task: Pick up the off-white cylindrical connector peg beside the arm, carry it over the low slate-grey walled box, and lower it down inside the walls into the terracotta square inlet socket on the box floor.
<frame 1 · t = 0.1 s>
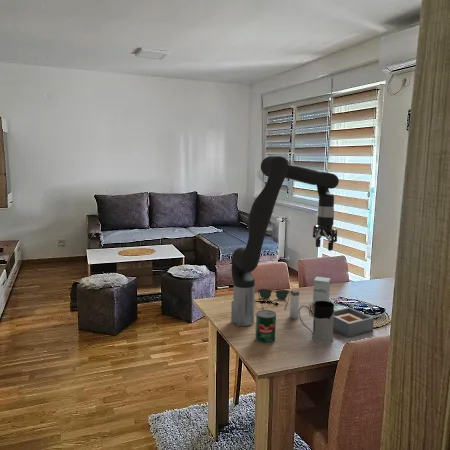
hand: (324, 248, 196), 29 cm above the table, tool pointing down, fingers open, 8 cm apart
sunglasses: (273, 304, 203), on the table
mug: (315, 339, 163), on the table
supplement box: (320, 303, 205), on the table
connector peg: (293, 317, 186), on the table
walled box: (348, 328, 174), on the table
canned tomato: (265, 340, 162), on the table
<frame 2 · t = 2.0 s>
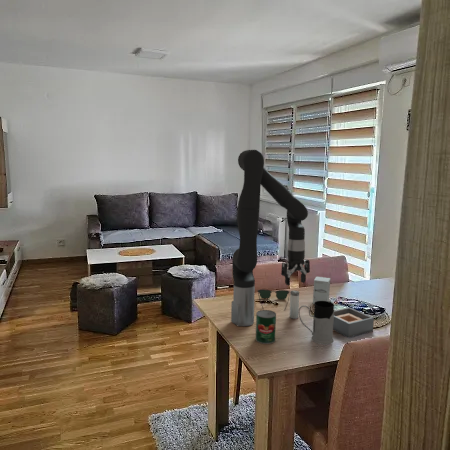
hand: (295, 283, 183), 16 cm above the table, tool pointing down, fingers open, 8 cm apart
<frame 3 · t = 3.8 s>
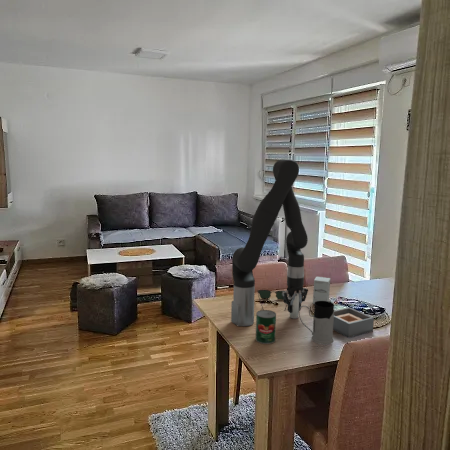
hand: (294, 311, 186), 3 cm above the table, tool pointing down, fingers closed on connector peg, 4 cm apart
connector peg: (293, 317, 186), on the table, touching gripper
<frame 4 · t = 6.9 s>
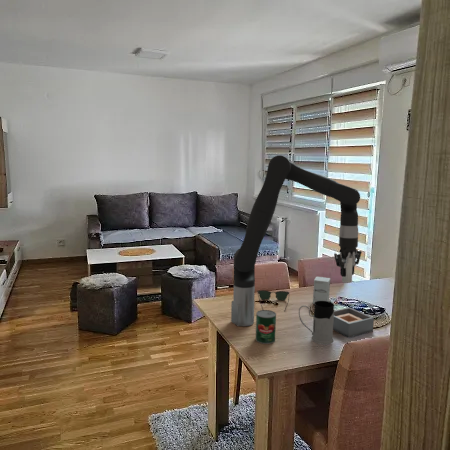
hand: (347, 275, 171), 23 cm above the table, tool pointing down, fingers closed on connector peg, 4 cm apart
connector peg: (346, 281, 172), point 20 cm above the table, touching gripper
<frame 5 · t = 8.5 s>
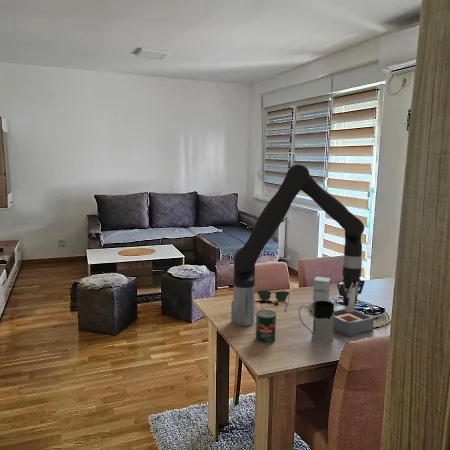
hand: (349, 304, 172), 11 cm above the table, tool pointing down, fingers closed on connector peg, 4 cm apart
connector peg: (349, 310, 173), point 8 cm above the table, touching gripper
when the fingers open (5 cm above the table, at t = 10.0 s): connector peg drops 1 cm, resting on walled box.
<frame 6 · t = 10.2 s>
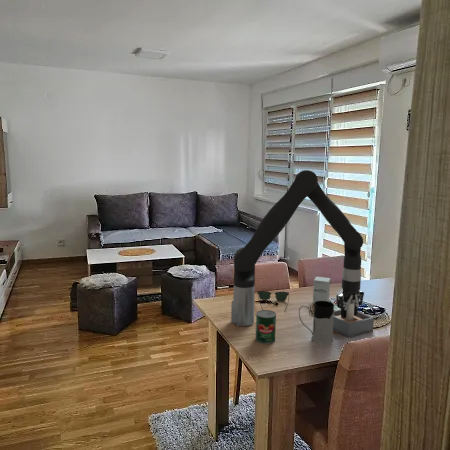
hand: (349, 316, 173), 5 cm above the table, tool pointing down, fingers open, 5 cm apart
connector peg: (348, 326, 174), point 1 cm above the table, touching walled box
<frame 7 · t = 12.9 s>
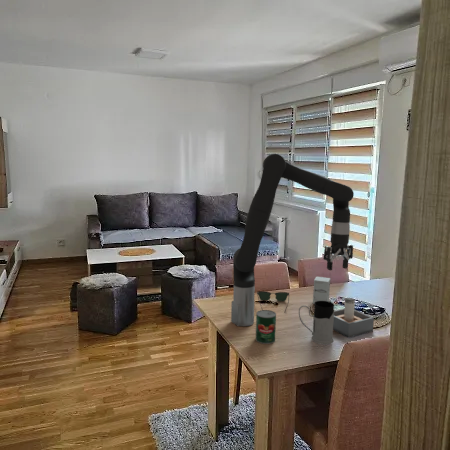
hand: (337, 269, 175), 25 cm above the table, tool pointing down, fingers open, 8 cm apart
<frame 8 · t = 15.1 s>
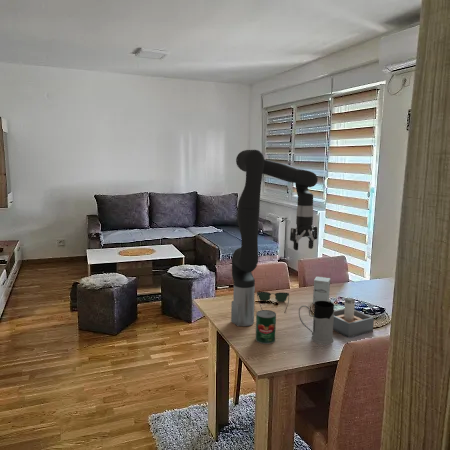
hand: (303, 249, 189), 30 cm above the table, tool pointing down, fingers open, 8 cm apart
at the end: connector peg 0.1 cm off-centre on the walled box, point 1.0 cm above the walled box's base; connector peg tilted 0°; the gripper is holding nothing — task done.
